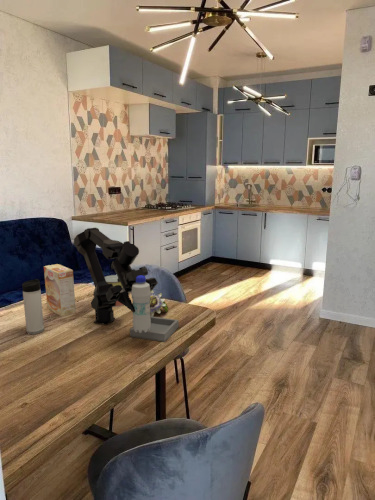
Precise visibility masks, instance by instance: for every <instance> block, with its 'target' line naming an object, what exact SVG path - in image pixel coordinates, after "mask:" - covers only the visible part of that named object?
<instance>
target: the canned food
mask: <svg viewBox="0 0 375 500" xmlns="http://www.w3.org/2000/svg"><path fill="white" fill-rule="evenodd" d="M104 277H105V280H106V282H107V283H108V284H112V285H113V286H117V285H120V286H121V287H122V285H121V283H120V282H118V281H117V279H118V276H117V274H111V275H106V276H104ZM123 306H125V305H123V304H122V303H120V302H119V301H116V306H112V308H120V307H123Z"/></svg>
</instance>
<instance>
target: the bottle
mask: <svg viewBox="0 0 375 500" xmlns="http://www.w3.org/2000/svg"><path fill="white" fill-rule="evenodd" d="M146 279H147V278H146V276H143V275H139V276H137V277H136V283H134V284H133V285H132V291H131V293H130V294H131V299H132V304H133V306H134V308H135V312H132V327H133V328H134V330H135V331H136V332H138V331H139V333H141V332H142V330H144V332H147V331H149V330H150V327H151V318H150V297H151V296H150V295H151V291H150V285H149V284H148V283H146Z"/></svg>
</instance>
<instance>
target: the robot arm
mask: <svg viewBox="0 0 375 500" xmlns="http://www.w3.org/2000/svg"><path fill="white" fill-rule="evenodd" d="M73 244H74V246H75V248H76V250H77V252H78V253H80V254H81V256H83V257H84V261H85V262H86V266H87V269H88V271H89V274H90V276H91V279H92V283H93V285H94V290H93V294H92V295H93V298H92V299H91V301H90V306H91V309H93V310H94V313H95V319H94V321H93V323H94V324H100V325H109V324H111V323H112V322H114V320H115V319H116V318H115V315H114V313H115V312H114V309H113V307H112V306H116V301H119V302H120V303H122V304H123V305H124V306H125V308H127V309H128V310H130V311H131V312H132V313H133V312H135V308H134V306H133V301H132V300H131V298H130V294H129V293H130V292H132V285H133V284H134V283H136V277H137V276H139V275H143V276H145V277H146V276H148V275H149V271H148V268H147V267H146V266H140V267H139V269H134V268H133V269H132V267H131V265H133V263H134V261H135V259H136V258H137V257H138V255H139V253H140V250H139V247H138V246H136V244H134V243H131V242H130V241H128V240H127V241H124V242H122V241H120V240H115V239H111V238H109V237H108V236H107V235H106V234H104V233H103V231H102V232H101V231H100V229H99V228H98V227H88V228H86V229H84V230H83V231H82V232H80V233H78V234H77V235H76V236H75V237H74V239H73ZM97 246H98V247H99V248H100V249H101V250H102V255H103V256H104V257H105V258H106V259H107V260H113V259H114V260H113V261H112V262H111V265H110V269H111V270H114V272H115V273H116V274H115V275H117V276H118V279H117V281H118V282H120V283H121V285H122V287H121V286H120V285H117V286H113V285H112V284H108V283H107V282H106V280H105V277H106V276H105V275H104V271H103V270H102V269H103V268H102V267H101V264H100V262H99V258H98V255H97V253H96V248H97ZM146 283H148V284H149V285H150V291H154V289H155V288H156V286H157V285H158V280H157V279H156V278H155V277H149V278H146Z"/></svg>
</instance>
